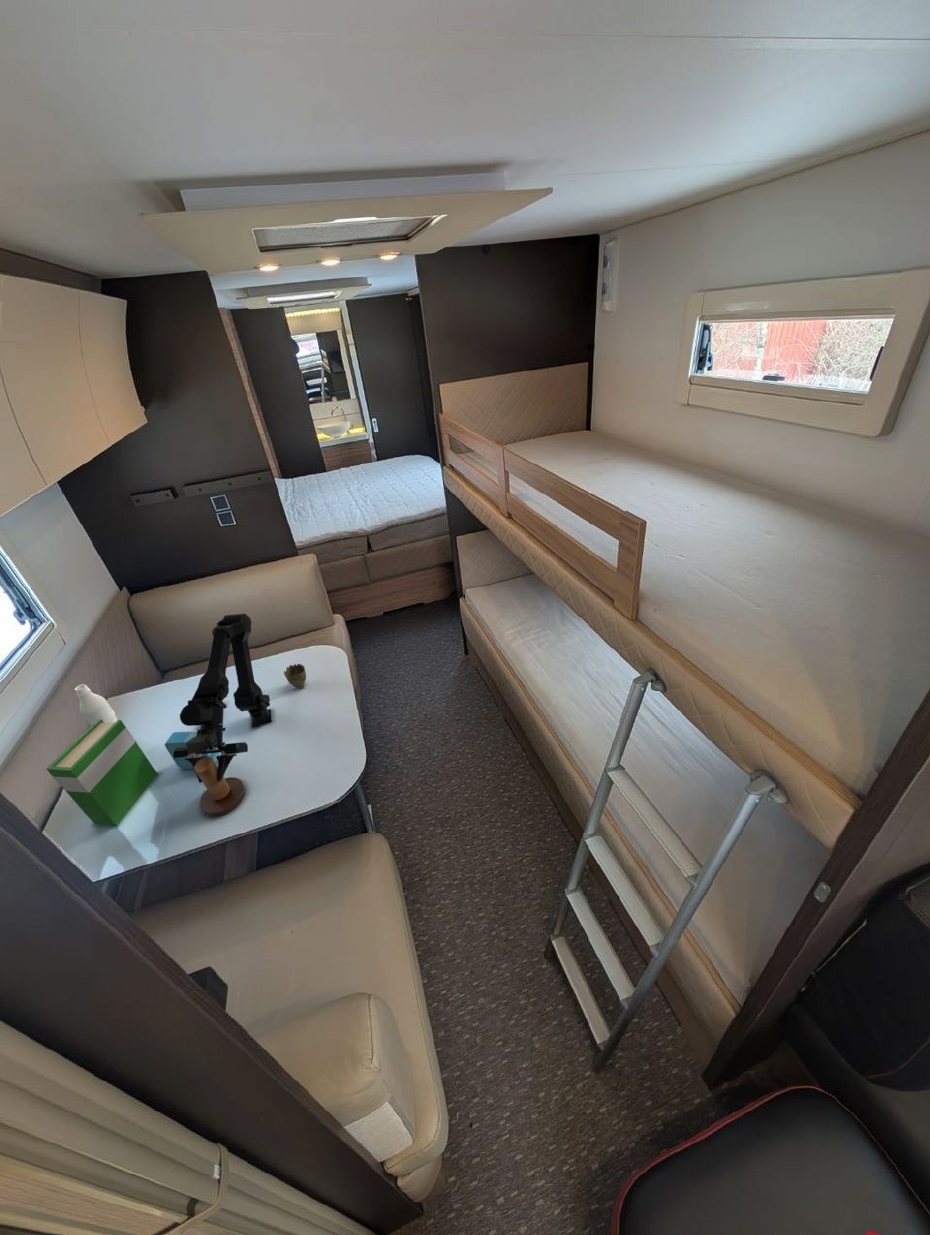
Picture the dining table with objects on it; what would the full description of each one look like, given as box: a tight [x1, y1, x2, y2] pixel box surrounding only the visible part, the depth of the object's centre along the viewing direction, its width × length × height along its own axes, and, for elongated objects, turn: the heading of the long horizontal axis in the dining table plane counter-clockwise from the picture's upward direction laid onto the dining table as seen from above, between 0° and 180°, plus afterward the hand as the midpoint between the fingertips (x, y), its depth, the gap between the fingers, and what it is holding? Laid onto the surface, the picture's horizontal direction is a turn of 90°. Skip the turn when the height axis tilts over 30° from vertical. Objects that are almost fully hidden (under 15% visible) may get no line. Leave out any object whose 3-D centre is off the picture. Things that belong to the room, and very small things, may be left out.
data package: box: [164, 731, 221, 770], centre depth 148 cm, size 12×4×12 cm, turn 87°
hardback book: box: [46, 719, 159, 827], centre depth 136 cm, size 18×7×24 cm, turn 172°
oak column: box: [193, 757, 230, 800], centre depth 134 cm, size 5×5×12 cm
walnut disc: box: [199, 776, 247, 818], centre depth 139 cm, size 12×12×2 cm
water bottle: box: [74, 683, 118, 727], centre depth 156 cm, size 7×7×25 cm
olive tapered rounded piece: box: [283, 663, 307, 689], centre depth 177 cm, size 8×7×8 cm
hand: (210, 781), depth 133 cm, fingers closed on oak column, 5 cm apart
